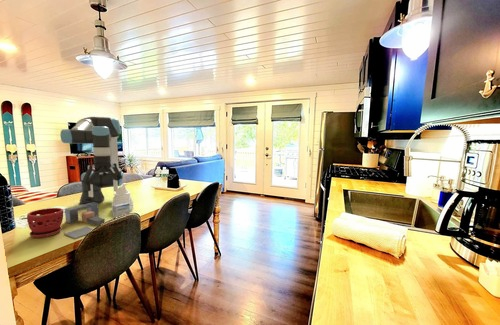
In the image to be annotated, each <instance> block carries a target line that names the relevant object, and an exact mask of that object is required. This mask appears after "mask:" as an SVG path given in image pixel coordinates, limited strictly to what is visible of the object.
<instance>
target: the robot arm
mask: <svg viewBox="0 0 500 325" xmlns="http://www.w3.org/2000/svg"><path fill="white" fill-rule="evenodd" d="M59 135H60V136H59V137H60V141H61V142H62V143H63V144H70V145H71V144H89V145H90V144H91V145H92V151H93V153H92V154H93V155H94V156H93V165H87V166H86V168H87V169H86V171H85V172H83V173H82V174H81V176H80V181H81V196H80V199H79V204H80V205H83V204H88V203H92V202H95V203H98V204H99V203H103V202H104V201H105V196H104V194H103V191H102V188H111V187H112V188H113V192H114V193H115V192H118V188H119V187H120V186H123V179H124V172H123V171H122V169H121V168H120V166H119V152H118V150H119V149H118V138H119V137H120V135H122V128H121V124H120V120H119V119H118V118H117V117H116V118H115V117H108V116H107V117H106V116H105V117H104V116H103V117H102V116H88V117H84V118H81V119H79V120H78V121H77V122H76V123H75V125H74V126H73V127H72V128H71V129H69V128H67V129H61V130H60V134H59Z"/></svg>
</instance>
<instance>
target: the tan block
mask: <svg viewBox="0 0 500 325" xmlns="http://www.w3.org/2000/svg"><path fill="white" fill-rule="evenodd" d="M92 216H95V214H94V212H92V211H87V210H86V211H83V212H81V221H82V222H84V223H85V224H86V223H87V218H89V217H92Z"/></svg>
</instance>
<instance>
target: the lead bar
mask: <svg viewBox="0 0 500 325" xmlns="http://www.w3.org/2000/svg"><path fill="white" fill-rule="evenodd" d="M105 221H106V220H105V218H103V217H100V216H92V217H89V218H87V223H88V224H91V225H93V226H97V227H98V225H99V226H101V225H100V224H102V223H104V222H105ZM105 223H106V222H105ZM102 225H103V224H102Z"/></svg>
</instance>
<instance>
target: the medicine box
mask: <svg viewBox="0 0 500 325" xmlns="http://www.w3.org/2000/svg"><path fill="white" fill-rule="evenodd" d="M130 211H131V210H130V205H129V203H122V204H118V205H114V206H113V212H112V214H113V215H112V217H113V218H116V217H119V216H122V215H125V214H129V213H130V214H131V212H130Z"/></svg>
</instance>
